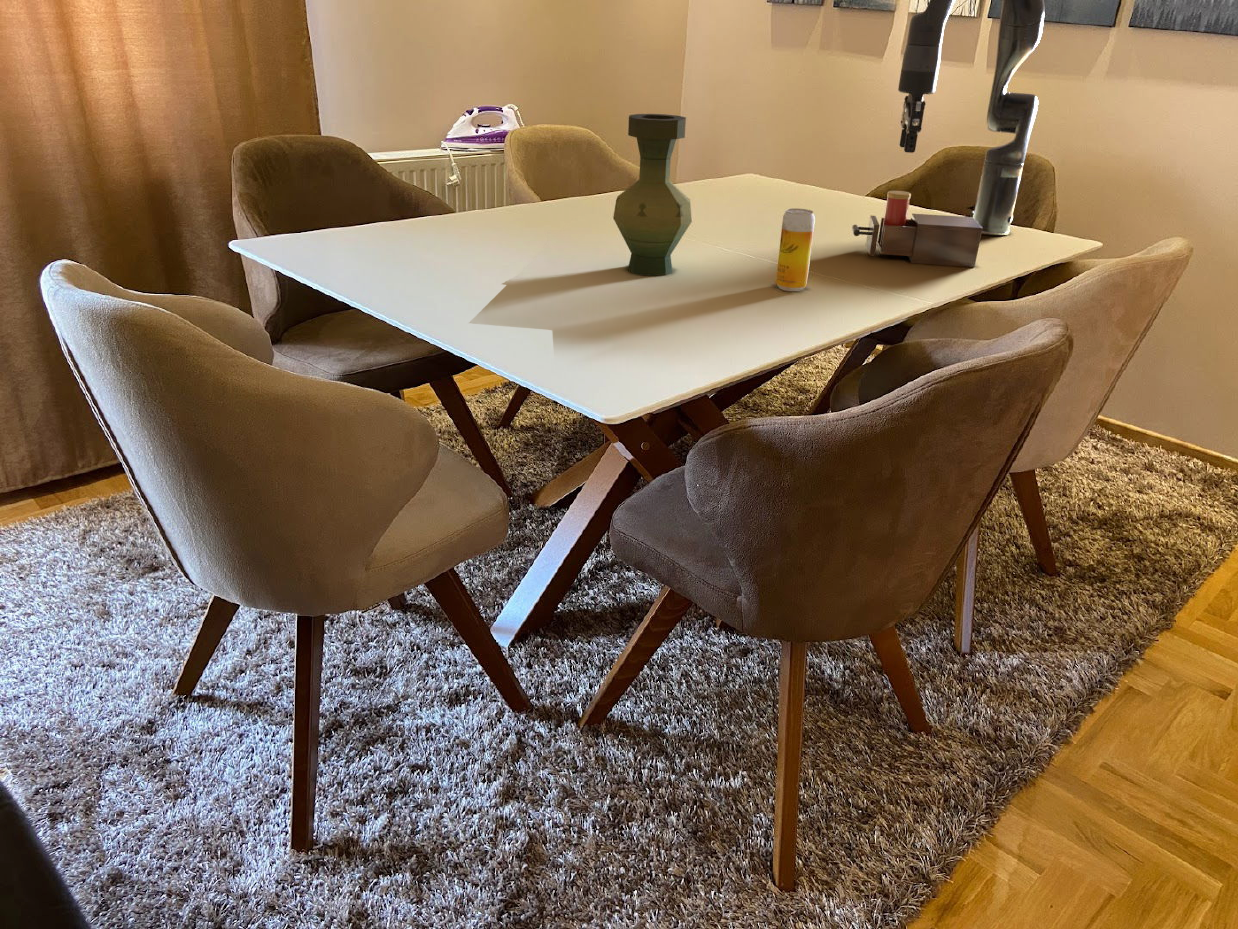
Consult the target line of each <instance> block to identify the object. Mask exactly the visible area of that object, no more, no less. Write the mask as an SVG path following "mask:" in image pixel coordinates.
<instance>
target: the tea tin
mask: <svg viewBox="0 0 1238 929" xmlns="http://www.w3.org/2000/svg"><path fill="white" fill-rule="evenodd" d="M911 197H912V193H911V192H909V191H904V190H888V191H887V198H886V203H885V211H884V217H883V218H884V223H883V229H882V235H881V241H880V246H881V247H882V240H883V234H884V228H885V225H892V226H905V224H906V219H908V212H909V206H910V200H911Z"/></svg>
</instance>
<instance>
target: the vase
mask: <svg viewBox="0 0 1238 929" xmlns="http://www.w3.org/2000/svg"><path fill="white" fill-rule="evenodd" d="M686 121H687V117H686V116H682V115H676V114H666V113H665V114H663V113H635V114H629V115H628V129H627V130H628V131H627V136H629V137H632V138H635V139H636V141H637V147H638V148H637V149H638V153H639V176H638V177H639V178H638V180H636V181H635V182H634V183H633V184H632V185H630V186H629V187H628V188H626V189H625V190H624V191H622V192H621V193H620V194H619V195H617V197H616V200H615V204H614V211H613V215H612V219H613V221H614V222H615V225H616V226H617V228H618V231H619V232H620V234H621V236H622V238H623V241H624V242H625V244H626V246H627V248H628V250H629V252H630V258H629V263H628V268H627V271H628V272H630V273H632V274H634V275H635V274H636V275H641V276H651V277H659V276H666V275H670V274H672V273H673V264H672V254H673V252H674V251H675V249H676V248H677V245H678V244H679V242H680V241H681V240H682V237H683V236H684V235H685V233H686V232H687V230H688V228H689V227H690V225H691V224H692V223H693V222H692V217H693V216H692V207H691V206H692V204H691V203H692V202H691V199H690V198H689V197H688V196H687V195H686V194H685V193H684V192H683V191H682V190H680V189H679V187H677V186H676V185H675V184H674V183H673V182H672V181H671V163H672V162H671V161H672V154H673V153H674V149H675V145H676V143H677V142H676V141H677V140H679V139H685V138H686V124H687V122H686Z"/></svg>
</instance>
